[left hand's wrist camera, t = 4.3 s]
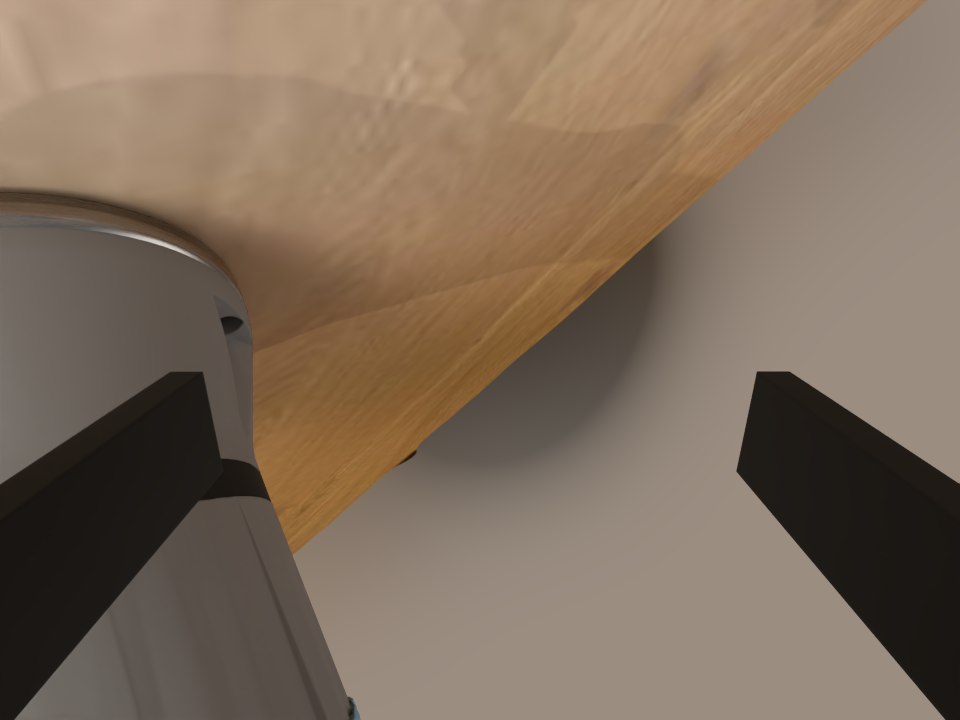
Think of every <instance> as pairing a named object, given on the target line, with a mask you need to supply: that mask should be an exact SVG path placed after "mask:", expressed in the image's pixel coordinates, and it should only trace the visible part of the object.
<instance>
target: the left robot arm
mask: <svg viewBox="0 0 960 720" xmlns="http://www.w3.org/2000/svg"><path fill="white" fill-rule="evenodd" d="M737 473H738V474H739V475H740V476H741V477H742V479H743V480H744V481H745V482H746V483H747V485H748V486H749V487H750V488H751V489H752V491H753V492H754V493H755V494H756V495H757V496H758V498H759V499H760V500H761V501H762V502H763V504H764V505H765V506H766V507H767V508H768V510H769V511H770V512H771V513H772V514H773V515H774V517H775V518H776V519H777V520H778V521H779V523H780V524H781V525H782V526H783V527H784V529H785V530H786V531H787V532H788V533H789V534H790V536H791V537H792V538H793V539H794V540H795V542H796V543H797V544H798V545H799V546H800V548H801V549H802V550H803V551H804V552H805V554H806V555H807V556H808V557H809V558H810V559H811V561H812V562H813V563H814V564H815V565H816V567H817V568H818V569H819V570H820V571H821V573H822V574H823V575H824V576H825V577H826V578H827V580H828V581H829V582H830V583H831V584H832V586H833V587H834V588H835V589H836V590H837V592H838V593H839V594H840V595H841V596H842V597H843V599H844V600H845V601H846V602H847V603H848V605H849V606H850V607H851V608H852V609H853V610H854V612H855V613H856V614H857V615H858V616H859V618H860V619H861V620H862V621H863V622H864V624H865V625H866V626H867V627H868V628H869V629H870V631H871V632H872V633H873V634H874V635H875V637H876V638H877V639H878V640H879V641H880V642H881V644H882V645H883V646H884V647H885V649H886V650H887V651H888V652H889V653H890V654H891V656H892V657H893V658H894V659H895V660H896V662H897V663H898V664H899V665H900V666H901V668H902V669H903V670H904V671H905V672H906V673H907V675H908V676H909V677H910V678H911V679H912V681H913V682H914V683H915V684H916V685H917V686H918V688H919V689H920V690H921V691H922V692H923V694H924V695H925V696H926V697H927V698H928V700H929V701H930V702H931V703H932V704H933V706H934V707H935V708H936V709H937V710H938V711H939V713H940V714H941V715H942V716H943V717H944V719H945V720H960V484H959V483H957V482H956V481H954V480H953V479H951V478H950V477H948V476H947V475H945V474H944V473H942V472H940V471H939V470H937V469H936V468H934V467H933V466H931V465H930V464H928V463H927V462H925V461H924V460H922V459H921V458H919V457H918V456H916V455H915V454H913V453H912V452H910V451H909V450H907V449H906V448H904V447H903V446H901V445H900V444H898V443H897V442H895V441H894V440H892V439H891V438H889V437H888V436H886V435H884V434H883V433H882V432H880V431H879V430H877V429H875V428H874V427H872V426H871V425H869V424H868V423H866V422H865V421H863V420H862V419H860V418H859V417H857V416H856V415H854V414H853V413H851V412H850V411H848V410H847V409H845V408H844V407H842V406H841V405H839V404H838V403H836V402H835V401H833V400H832V399H830V398H829V397H827V396H826V395H824V394H823V393H821V392H819V391H818V390H816V389H815V388H813V387H812V386H810V385H809V384H807V383H806V382H804V381H803V380H801V379H800V378H798V377H797V376H795V375H794V374H792V373H791V372H757V374H756V379H755V384H754V389H753V394H752V399H751V404H750V409H749V413H748V418H747V423H746V428H745V433H744V437H743V442H742V447H741V452H740V457H739V462H738V466H737ZM0 720H360V716H359V713H358V711H357V709H356V705H355V703H354V701H353V699H352V698H351V697H347V695H346V692H345V690H344V687H343V685H342V682H341V680H340V677H339V674H338V672H337V669H336V667H335V664H334V662H333V659H332V656H331V654H330V651H329V649H328V646H327V644H326V641H325V638H324V636H323V633H322V631H321V628H320V626H319V623H318V620H317V618H316V615H315V613H314V610H313V608H312V605H311V602H310V600H309V597H308V595H307V592H306V589H305V587H304V584H303V582H302V579H301V577H300V574H299V572H298V569H297V566H296V564H295V561H294V559H293V556H292V553H291V551H290V548H289V546H288V543H287V540H286V538H285V535H284V533H283V530H282V528H281V525H280V522H279V520H278V517H277V515H276V512H275V510H274V507H273V504H272V503H271V500H270V498H269V495H268V492H267V490H266V487H265V484H264V482H263V479H262V476H261V474H260V470H259V468H258V465H257V462H256V459H255V456H254V450H253V376H252V331H251V326H250V321H249V318H248V313H247V309H246V306H245V303H244V300H243V298H242V295H241V293H240V290H239V288H238V286H237V283H236V281H235V279H234V277H233V275H232V273H231V271H230V270H229V269H228V267H227V266H226V265H225V263H224V262H223V261H222V260H221V259H220V258H219V257H218V256H217V255H216V254H215V253H214V252H213V251H212V250H211V249H209V248H208V247H207V246H205V245H204V244H203V243H202V242H200V241H198V240H197V239H195V238H193V237H192V236H190V235H189V234H187V233H185V232H183V231H181V230H179V229H177V228H175V227H173V226H171V225H169V224H166V223H164V222H161V221H159V220H156V219H154V218H151V217H148V216H145V215H142V214H139V213H136V212H133V211H129V210H126V209H122V208H118V207H114V206H109V205H105V204H101V203H96V202H90V201H84V200H79V199H73V198H65V197H57V196H48V195H39V194H23V193H2V192H0Z"/></svg>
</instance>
